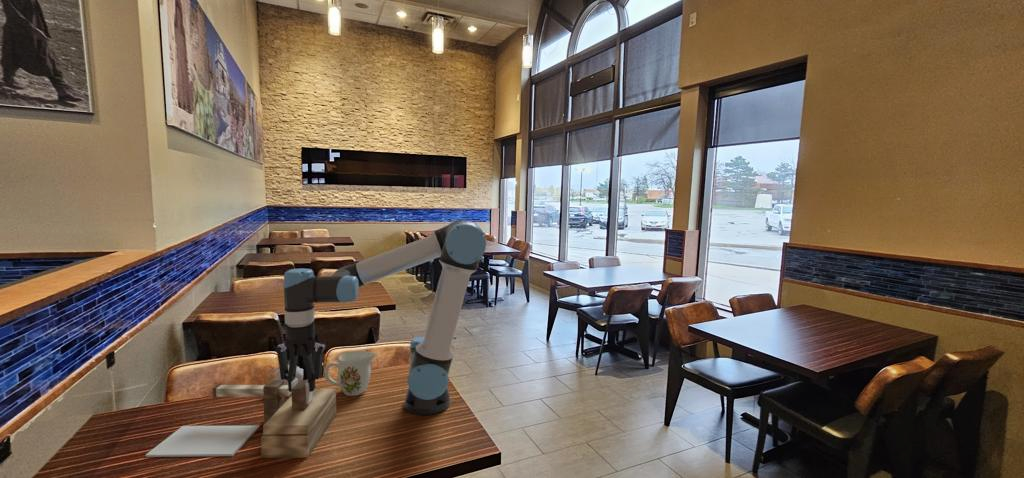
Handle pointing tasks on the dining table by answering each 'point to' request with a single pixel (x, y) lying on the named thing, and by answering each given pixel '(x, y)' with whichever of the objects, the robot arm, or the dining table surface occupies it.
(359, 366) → the pitcher
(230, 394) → the beige wooden bar
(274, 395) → the light wood open box
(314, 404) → the lid
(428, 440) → the dining table surface
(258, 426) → the light grey flat board
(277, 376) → the toy
